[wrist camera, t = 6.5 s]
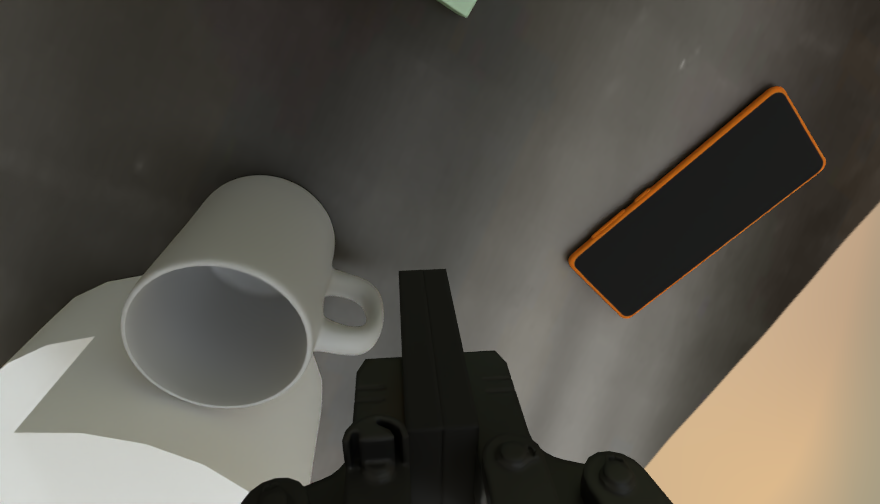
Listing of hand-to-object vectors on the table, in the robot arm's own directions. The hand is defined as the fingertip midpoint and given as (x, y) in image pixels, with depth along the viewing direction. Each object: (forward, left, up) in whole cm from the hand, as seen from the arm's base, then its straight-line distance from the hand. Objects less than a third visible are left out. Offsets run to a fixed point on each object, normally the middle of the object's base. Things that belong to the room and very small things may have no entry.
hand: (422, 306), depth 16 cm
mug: (-3, -9, -17) cm, 19 cm away
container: (-5, -24, -17) cm, 29 cm away
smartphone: (+19, +6, -16) cm, 26 cm away
